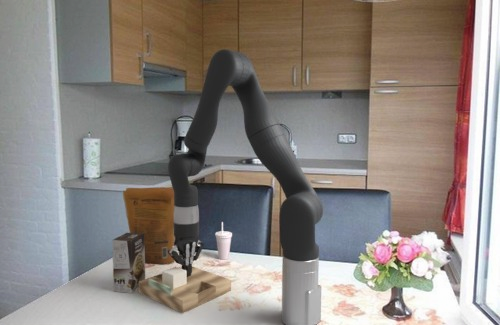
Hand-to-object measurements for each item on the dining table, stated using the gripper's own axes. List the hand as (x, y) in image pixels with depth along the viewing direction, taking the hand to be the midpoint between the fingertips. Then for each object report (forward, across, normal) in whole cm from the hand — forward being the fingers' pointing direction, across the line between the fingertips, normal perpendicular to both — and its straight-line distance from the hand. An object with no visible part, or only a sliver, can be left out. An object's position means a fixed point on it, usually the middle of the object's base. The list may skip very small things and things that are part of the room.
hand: (187, 275), depth 122 cm
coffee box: (+5, -10, +16) cm, 19 cm away
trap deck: (+5, -1, 0) cm, 5 cm away
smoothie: (+5, +28, +12) cm, 31 cm away
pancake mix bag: (+5, +8, +29) cm, 30 cm away
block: (+1, -5, 0) cm, 5 cm away
